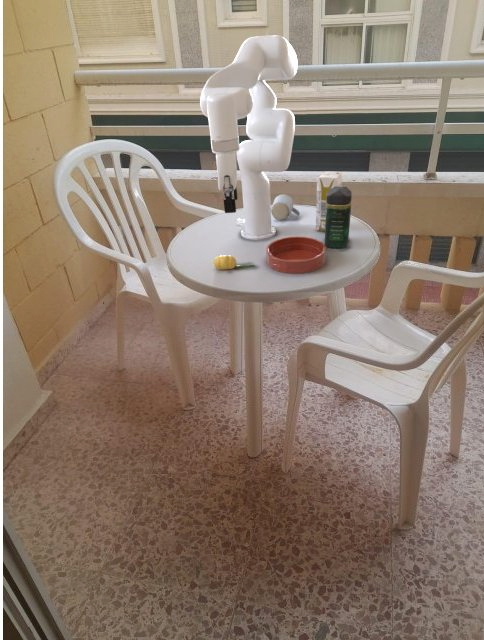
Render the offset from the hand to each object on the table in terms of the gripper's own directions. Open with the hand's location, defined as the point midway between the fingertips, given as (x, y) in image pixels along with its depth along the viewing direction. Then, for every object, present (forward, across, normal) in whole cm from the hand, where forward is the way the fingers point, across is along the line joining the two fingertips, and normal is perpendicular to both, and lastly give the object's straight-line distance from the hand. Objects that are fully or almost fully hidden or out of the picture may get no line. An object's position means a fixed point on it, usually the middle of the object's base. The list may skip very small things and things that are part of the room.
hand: (231, 206), depth 133 cm
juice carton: (+20, -26, +32) cm, 46 cm away
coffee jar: (+20, -12, +33) cm, 40 cm away
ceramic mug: (+21, -38, +17) cm, 47 cm away
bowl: (+19, 0, +19) cm, 27 cm away
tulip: (+19, +3, -1) cm, 19 cm away
